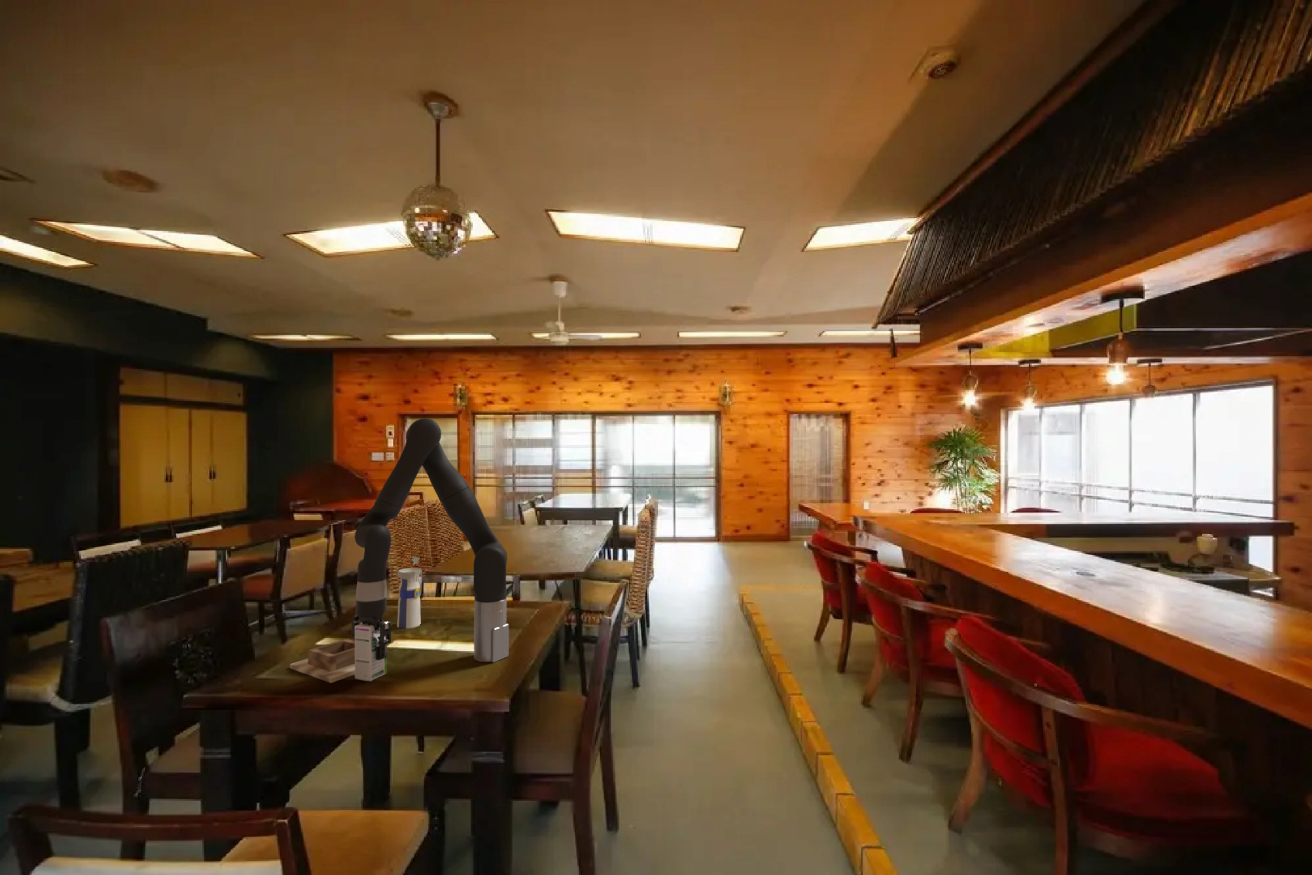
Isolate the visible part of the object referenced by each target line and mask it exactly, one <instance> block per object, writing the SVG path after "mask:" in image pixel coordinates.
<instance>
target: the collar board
mask: <svg viewBox="0 0 1312 875" xmlns="http://www.w3.org/2000/svg"><path fill="white" fill-rule="evenodd" d="M307 652H308V655H307V658H305V659H302V660H299V661H296V662H293V663H289V664H290V665H289V669H291V670H294V671H296V672H299V673H302V674H305V675H308V676H310V677H314V678H315V679H319V680H322V681H324V682H327V683H330V684H332V683H335V682H338V681H340V680H343V679H346V678H348V677H352V676H355V640H351V639H349V638H345V639H341V640H338V641H334V642H331V643H330V642H329V643H327V644H324V645H321V646H317V647H314V648H310V649H308V650H307Z"/></svg>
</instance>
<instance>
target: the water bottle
mask: <svg viewBox="0 0 1312 875" xmlns="http://www.w3.org/2000/svg"><path fill="white" fill-rule="evenodd" d="M420 559H421V557H417V555H414V557H413V558H412V559H411V560H410V561H412V562H413V564H412V565H413V566H414V565H415V564H417V565H419V560H420ZM422 576H423V571H422V568H419V567H409V568H401V569H399V570H398V571H397V575H396V577H398V578H399V579H400V584H399V587H398V590H399V598H398V602H397V622H396V627H397V629H413V628H417V627H419V626H421V625H420V624H421V623H422V622H421V620H422V619H421V598H420V597H421V595H422V590H421V588H420V587H421V585H420V583H419V577H420V578H422Z"/></svg>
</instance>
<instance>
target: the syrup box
mask: <svg viewBox="0 0 1312 875" xmlns="http://www.w3.org/2000/svg"><path fill="white" fill-rule="evenodd" d="M373 632H374V633H375V634H380V631H379V630H376V631H375V630H374V626H373V625H370V626H368V625H366V624H360V625H356V626H355V637H354V641H355V675H354V678H355V679H356V680H359V681H365V682H372V681H374V680H376V679H379V678H381V677H382V676H385V675H387V674H388V644H386V645H385V657H384V659H381V660H376V644H375V641H374V640H373V639H372V633H373ZM385 638H386V639H387V635H385ZM378 639H379V641H380V638H378Z"/></svg>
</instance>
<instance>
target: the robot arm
mask: <svg viewBox="0 0 1312 875" xmlns="http://www.w3.org/2000/svg"><path fill="white" fill-rule="evenodd" d="M441 438H442V429H441V427H440V425H439V424H438V422H437V421H435V420H434V419H431V418H428V417H427V418H424V417H423V418H419V419H416V420H415V421H413V422H412V423H411V424H410V425H409V427H408V428H407V431H406V433H405V445H404V447H403V450H402V452H401V454H400V457H399V459H398V460H397V462H396V464H395V466H394V468H393V469H392V471H391V472H390V474H389V476H388V478H387V479H386V481H385V482H384V484H383V486H382V488H381V490H380V491H379V494H378V495H377V498H376V499H375V501H374V504H373V505H372V507H371V508H370V509H369V511H368V512H367V513H366V515H365V516H363V518H362V520H360V522H359V524H358V525H357V528H356V529H355V533H354V542H355V543H356V545H357V546H359V547H360V548H362V549H364V551H363V552H364V553H363V559H360V560H359V562H358V564H357V584H356V590H355V615H352V617H351V632H350V635H351V637H352V638H355V626H356V625H360V624H366V625H368V626H370V625H373V626H374V630H375V631H376V630H379V631H380V634H375V633H374V632H373V633H372V639H373V640H374V641H375V644H376V660H381V659H384V657H385V645H386V644H387V645H388V644H391V643H392V631H391V630H392V627H391V626H392V622H391V620H387V621H386V620H384V619H383V616H384V614H386V612H387V606H388V605H387V602H388V601H387V600H388V599H387V597H388V595H387V594H388V592H387V591H388V588H387V587H388V586H387V561H388V560H389V559H388V558H389V554H390V550H391V545H392V536H391V532H390V530H389V528H388V527H387V525H388V524H389V523H390V521H392V520H394V519H396V518H397V517H398V515H399V514H400V512H401V510H402V509H403V506H404V505H405V502H406V500H407V498H408V496H409V494H410V492H411V489H412V486H413V484H414V482H415V480H416V479H417V475H418V474H419V472H420V470H421V468H423V469H424V472H425V473H426V475H427V477H428V479H429V481H430V483H431V486H432V488H433V489H434V493H435V494H436V496H437V498H438V500H439V502H440V503H441V505H442V508H443V510H444V511H445V512H446V514H447V516H448V517H449V518H450V520H451V521H452V522H453V524H455V526H456V527H457V528H458V529H459V530H460V532H461V533H462V534H463V535H464V537H466V538H465V539H466V540H467V541H468V543H469V545H470V547H471V550H472V552H473V554H474V558H473V593H474V608H473V610H474V616H473V617H474V622H473V659H474V660H475V661H477V662H480V663H481V662H482V663H496V662H498V661H500V660H503V659H506V658H507V657H509V648H510V647H509V646H510V644H509V641H510V640H509V638H510V636H509V635H510V632H509V631H510V630H509V629H510V627H509V626H510V625H509V623H507V595H508V593H507V592H508V590H507V562H508V554H507V551H506V549H505V548H504V546H503V545H502V543H501V542H500V541H499V539H498V538H497V537H496V535H495V533H494V532H493V531H492V529H491V528H490V526H489V523H488V522H487V520H486V518H485V515H484V513H483V511H482V509H481V506H480V503H479V502H478V500H477V497H476V496H475V494H474V492H473V490H472V489H471V487H470V485H469V483H468V482H467V481H466V479H465V478H464V477H463V475H461V473H460V472H459V471H458V470H457V468H455V466H454V465H453V464H452V463H451V462H450V461H449V459H448V457H447V455H446V453H445V451H444V449H443V447H442V445H441V443H440V442H441V441H440V440H441ZM385 635H387V639H386V638H385ZM378 638H380V641H379V639H378Z"/></svg>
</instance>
